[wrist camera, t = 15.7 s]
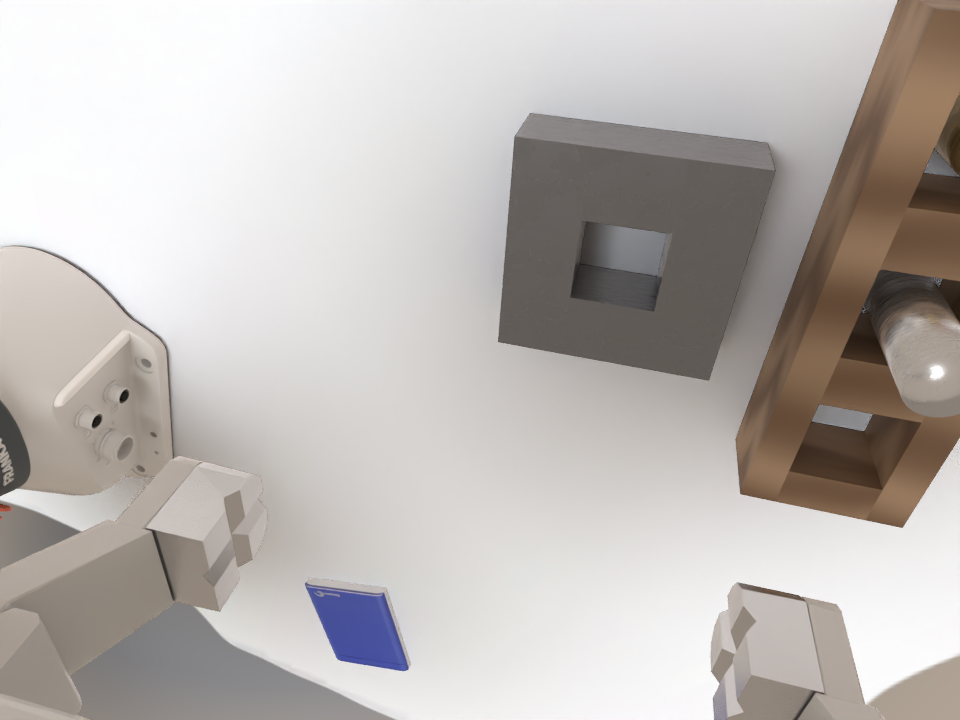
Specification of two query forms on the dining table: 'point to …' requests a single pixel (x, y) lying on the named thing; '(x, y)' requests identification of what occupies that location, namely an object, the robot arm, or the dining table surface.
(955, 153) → the cylinder
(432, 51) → the dining table surface
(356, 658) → the hard drive
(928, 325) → the steel peg
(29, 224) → the dining table surface
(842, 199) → the rack
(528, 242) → the socket block
